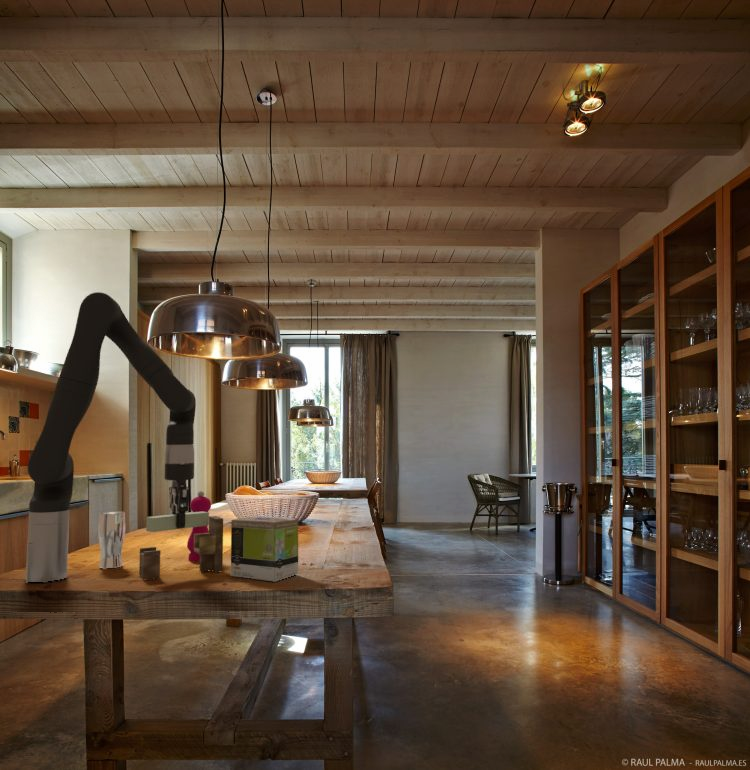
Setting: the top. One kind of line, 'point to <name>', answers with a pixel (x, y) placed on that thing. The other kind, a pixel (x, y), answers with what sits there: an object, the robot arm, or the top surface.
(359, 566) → the top surface
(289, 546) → the tea box
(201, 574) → the top surface
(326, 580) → the top surface
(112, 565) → the beer glass
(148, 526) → the rail
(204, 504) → the pepper mill
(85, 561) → the top surface
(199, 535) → the cup bracket
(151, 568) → the block
